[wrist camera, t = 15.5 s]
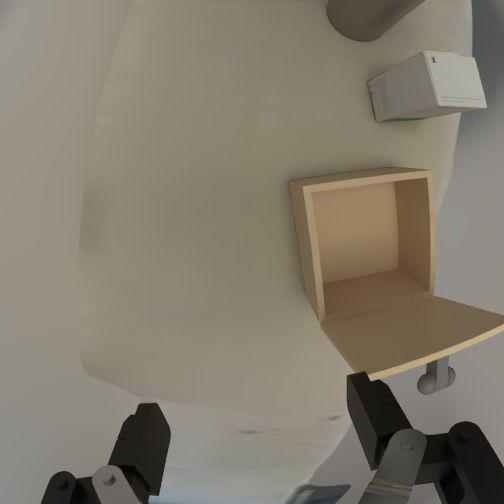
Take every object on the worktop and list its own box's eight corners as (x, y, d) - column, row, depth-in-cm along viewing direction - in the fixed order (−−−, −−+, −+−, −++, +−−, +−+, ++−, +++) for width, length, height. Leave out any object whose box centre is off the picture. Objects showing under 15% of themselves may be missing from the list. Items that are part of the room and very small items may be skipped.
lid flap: (362, 376, 20) (365, 431, 20) (514, 318, 19) (510, 369, 20) (320, 324, 36) (325, 363, 36) (433, 295, 35) (435, 332, 35)
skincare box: (374, 122, 39) (436, 108, 24) (365, 78, 37) (420, 46, 22) (421, 120, 38) (489, 110, 23) (413, 79, 37) (476, 55, 22)
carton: (288, 180, 41) (302, 186, 31) (394, 166, 40) (431, 170, 31) (304, 290, 45) (319, 323, 36) (401, 270, 45) (433, 294, 35)
